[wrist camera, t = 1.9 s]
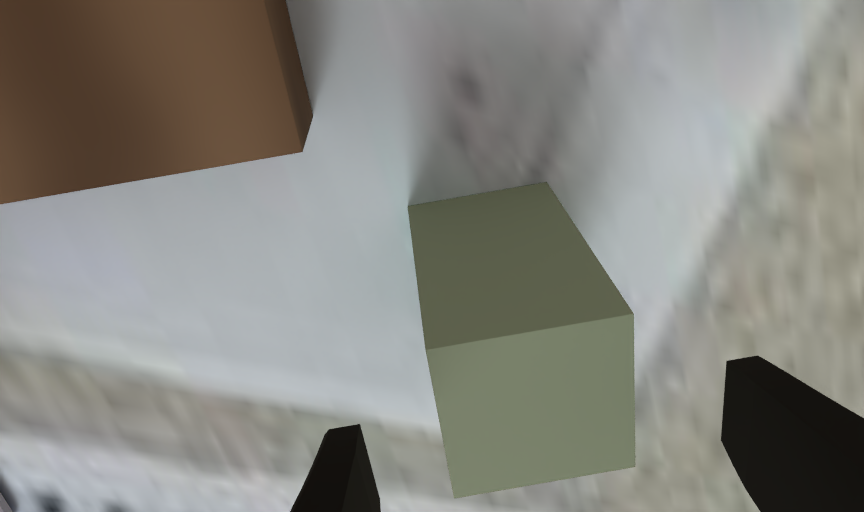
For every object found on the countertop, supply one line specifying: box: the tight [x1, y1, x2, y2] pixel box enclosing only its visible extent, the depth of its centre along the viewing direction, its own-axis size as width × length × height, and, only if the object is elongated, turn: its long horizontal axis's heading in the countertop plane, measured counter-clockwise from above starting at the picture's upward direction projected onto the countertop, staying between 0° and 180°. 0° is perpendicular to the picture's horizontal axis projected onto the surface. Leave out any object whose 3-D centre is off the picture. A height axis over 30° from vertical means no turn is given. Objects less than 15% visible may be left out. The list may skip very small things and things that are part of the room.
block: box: [408, 182, 635, 498], centre depth 16 cm, size 4×4×7 cm
